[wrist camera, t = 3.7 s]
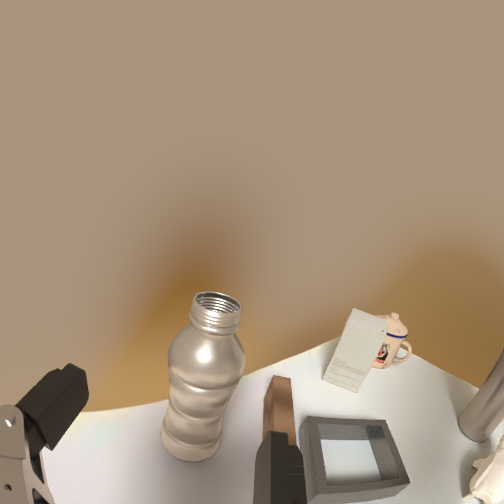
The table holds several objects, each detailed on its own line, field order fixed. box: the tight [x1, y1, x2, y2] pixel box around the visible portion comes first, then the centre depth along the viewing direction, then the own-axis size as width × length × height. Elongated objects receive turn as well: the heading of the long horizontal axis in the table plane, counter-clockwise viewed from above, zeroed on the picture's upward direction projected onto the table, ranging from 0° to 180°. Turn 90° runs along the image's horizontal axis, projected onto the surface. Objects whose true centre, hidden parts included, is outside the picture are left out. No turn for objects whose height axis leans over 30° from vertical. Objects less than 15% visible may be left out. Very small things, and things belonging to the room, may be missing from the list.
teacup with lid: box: [372, 312, 412, 369], centre depth 51 cm, size 12×9×12 cm
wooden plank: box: [263, 375, 296, 446], centre depth 24 cm, size 24×2×5 cm, turn 177°
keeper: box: [299, 416, 410, 504], centre depth 24 cm, size 12×12×4 cm
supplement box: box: [322, 308, 387, 393], centre depth 44 cm, size 7×7×13 cm
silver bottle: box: [160, 291, 245, 462], centre depth 22 cm, size 6×7×20 cm
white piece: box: [463, 435, 504, 504], centre depth 15 cm, size 9×8×15 cm
